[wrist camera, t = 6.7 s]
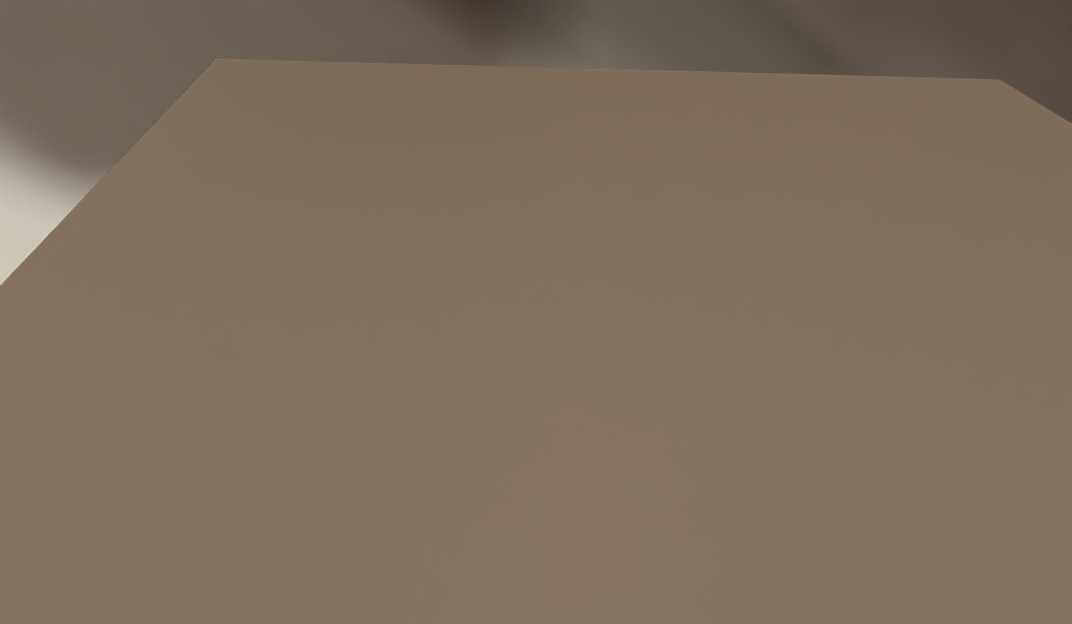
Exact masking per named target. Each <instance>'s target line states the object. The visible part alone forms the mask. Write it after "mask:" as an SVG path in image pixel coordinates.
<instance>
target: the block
mask: <svg viewBox="0 0 1072 624" xmlns="http://www.w3.org/2000/svg"><path fill="white" fill-rule="evenodd" d="M0 624H1072V124H1071V123H1070V122H1068V121H1066V120H1065V119H1063V118H1061V117H1060V116H1058V115H1057V114H1055V113H1053V112H1052V111H1050V110H1048V109H1047V108H1045V107H1044V106H1042V105H1040V104H1039V103H1037V102H1035V101H1034V100H1032V99H1030V98H1029V97H1027V96H1026V95H1024V94H1022V93H1021V92H1019V91H1017V90H1016V89H1014V88H1012V87H1011V86H1009V85H1008V84H1006V83H1004V82H1003V81H1001V80H999V79H963V78H926V77H889V76H852V75H815V74H778V73H741V72H705V71H668V70H631V69H594V68H557V67H520V66H484V65H447V64H410V63H373V62H336V61H299V60H262V59H226V58H216V59H215V60H214V61H213V62H212V63H211V64H210V65H209V66H208V67H207V69H206V70H205V71H204V72H203V73H202V74H201V75H200V76H199V77H198V78H197V79H196V80H195V81H194V82H193V83H192V84H191V85H190V86H189V87H188V89H187V90H186V91H185V92H184V93H183V94H182V95H181V96H180V97H179V98H178V99H177V100H176V101H175V102H174V103H173V104H172V105H171V106H170V108H169V109H168V110H167V111H166V112H165V113H164V114H163V115H162V116H161V117H160V118H159V119H158V120H157V121H156V122H155V123H154V124H153V125H152V126H151V128H150V129H149V130H148V131H147V132H146V133H145V134H144V135H143V136H142V137H141V138H140V139H139V140H138V141H137V142H136V143H135V144H134V145H133V147H132V148H131V149H130V150H129V151H128V152H127V153H126V154H125V155H124V156H123V157H122V158H121V159H120V160H119V161H118V162H117V163H116V164H115V165H114V167H113V168H112V169H111V170H110V171H109V172H108V173H107V174H106V175H105V176H104V177H103V178H102V179H101V180H100V181H99V182H98V183H97V184H96V186H95V187H94V188H93V189H92V190H91V191H90V192H89V193H88V194H87V195H86V196H85V197H84V198H83V199H82V200H81V201H80V202H79V203H78V204H77V206H76V207H75V208H74V209H73V210H72V211H71V212H70V213H69V214H68V215H67V216H66V217H65V218H64V219H63V220H62V221H61V222H60V223H59V225H58V226H57V227H56V228H55V229H54V230H53V231H52V232H51V233H50V234H49V235H48V236H47V237H46V238H45V239H44V240H43V241H42V242H41V243H40V245H39V246H38V247H37V248H36V249H35V250H34V251H33V252H32V253H31V254H30V255H29V256H28V257H27V258H26V259H25V260H24V261H23V262H22V264H21V265H20V266H19V267H18V268H17V269H16V270H15V271H14V272H13V273H12V274H11V275H10V276H9V277H8V278H7V279H6V280H5V281H4V282H3V284H2V285H1V286H0Z"/></svg>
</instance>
